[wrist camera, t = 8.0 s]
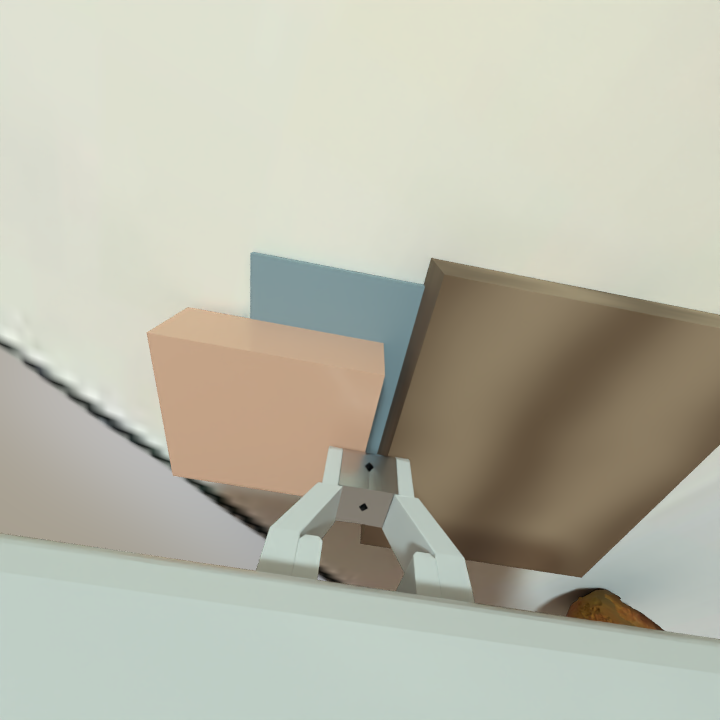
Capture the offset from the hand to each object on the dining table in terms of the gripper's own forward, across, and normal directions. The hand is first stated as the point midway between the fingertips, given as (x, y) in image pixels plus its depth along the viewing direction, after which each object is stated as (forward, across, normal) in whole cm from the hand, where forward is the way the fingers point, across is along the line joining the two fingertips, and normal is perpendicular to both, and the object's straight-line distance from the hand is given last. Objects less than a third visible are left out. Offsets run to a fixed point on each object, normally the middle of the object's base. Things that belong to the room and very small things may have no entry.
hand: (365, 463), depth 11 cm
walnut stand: (+4, -7, 0) cm, 8 cm away
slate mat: (+4, +2, 0) cm, 4 cm away
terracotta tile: (+3, +4, 0) cm, 5 cm away
